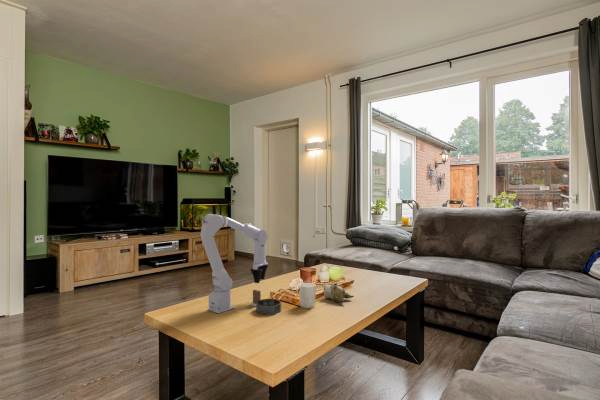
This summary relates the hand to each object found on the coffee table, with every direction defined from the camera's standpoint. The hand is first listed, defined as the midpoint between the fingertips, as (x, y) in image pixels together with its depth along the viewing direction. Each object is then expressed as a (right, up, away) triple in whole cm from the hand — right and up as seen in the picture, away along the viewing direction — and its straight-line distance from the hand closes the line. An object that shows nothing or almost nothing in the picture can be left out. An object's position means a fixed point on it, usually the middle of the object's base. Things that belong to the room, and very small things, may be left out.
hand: (259, 281), depth 164 cm
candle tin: (+6, -10, -13) cm, 18 cm away
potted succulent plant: (+38, -10, +2) cm, 40 cm away
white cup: (+24, -10, -7) cm, 27 cm away
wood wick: (-1, -10, -5) cm, 11 cm away
